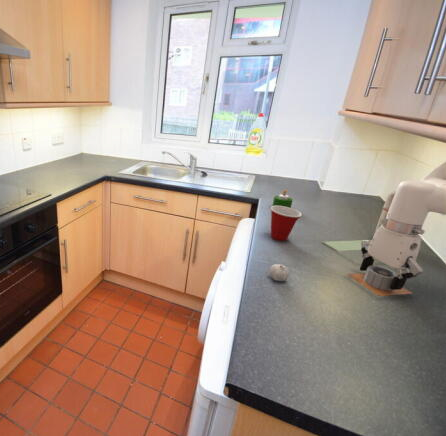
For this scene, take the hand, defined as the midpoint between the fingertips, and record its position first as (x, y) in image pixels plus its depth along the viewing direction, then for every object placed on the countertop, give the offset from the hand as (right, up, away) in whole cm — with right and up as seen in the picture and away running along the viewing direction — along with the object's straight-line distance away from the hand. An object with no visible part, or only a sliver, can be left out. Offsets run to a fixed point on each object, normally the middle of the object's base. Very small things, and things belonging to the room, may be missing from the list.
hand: (379, 279), depth 87 cm
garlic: (-28, -1, +3) cm, 29 cm away
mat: (+13, +6, +21) cm, 25 cm away
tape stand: (0, -2, +1) cm, 2 cm away
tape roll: (0, -1, 0) cm, 1 cm away
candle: (+5, +23, +63) cm, 67 cm away
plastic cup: (-13, +10, +30) cm, 35 cm away
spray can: (+28, +9, +29) cm, 41 cm away
